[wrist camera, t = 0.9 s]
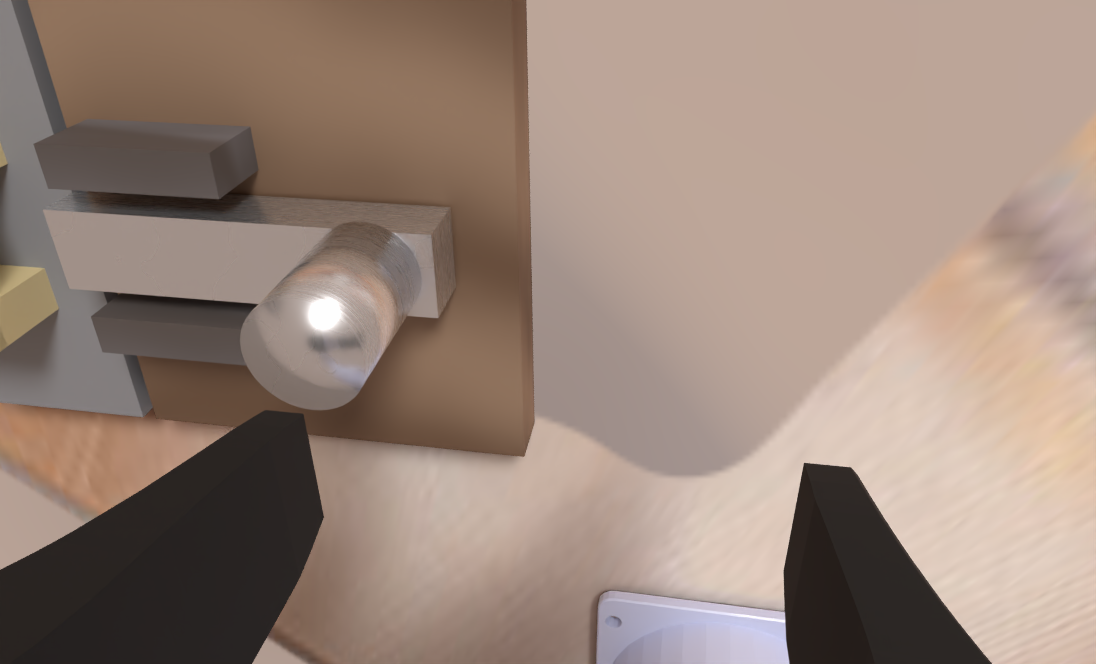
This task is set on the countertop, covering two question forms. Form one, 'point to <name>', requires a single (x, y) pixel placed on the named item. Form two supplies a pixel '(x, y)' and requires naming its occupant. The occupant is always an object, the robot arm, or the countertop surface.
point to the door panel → (315, 183)
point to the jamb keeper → (45, 256)
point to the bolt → (271, 273)
